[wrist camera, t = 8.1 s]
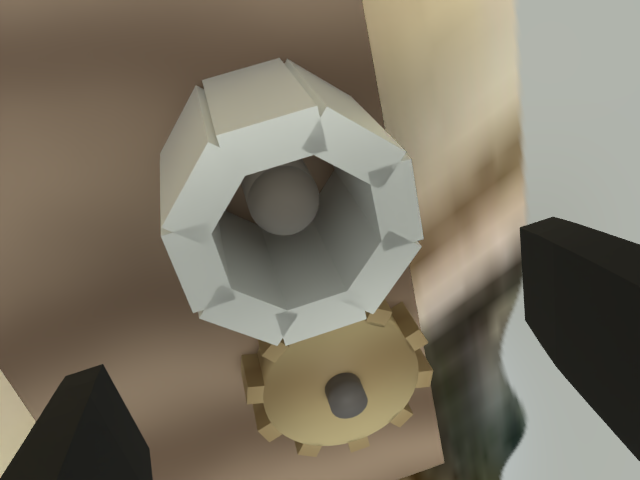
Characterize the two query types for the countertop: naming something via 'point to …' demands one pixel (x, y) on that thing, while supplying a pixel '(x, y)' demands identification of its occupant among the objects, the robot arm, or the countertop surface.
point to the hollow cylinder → (300, 248)
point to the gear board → (152, 257)
